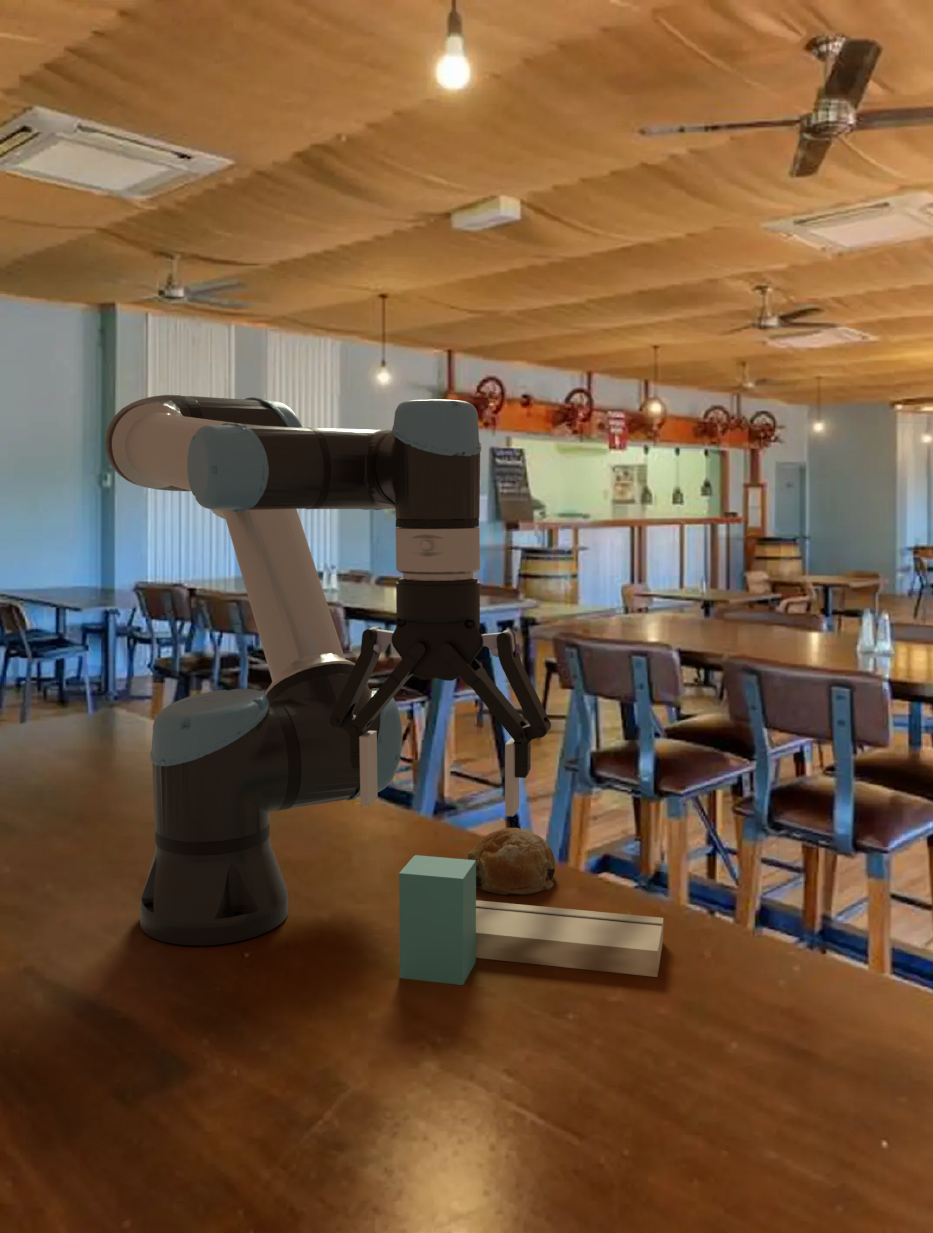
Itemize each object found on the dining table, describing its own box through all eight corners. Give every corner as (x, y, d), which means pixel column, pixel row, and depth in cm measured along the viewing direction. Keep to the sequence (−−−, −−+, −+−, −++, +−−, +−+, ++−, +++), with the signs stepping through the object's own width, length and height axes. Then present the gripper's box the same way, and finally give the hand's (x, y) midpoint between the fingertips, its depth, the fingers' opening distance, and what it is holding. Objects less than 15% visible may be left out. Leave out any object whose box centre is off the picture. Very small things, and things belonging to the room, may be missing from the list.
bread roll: (531, 931, 119) (563, 870, 117) (449, 886, 120) (479, 825, 119) (543, 898, 129) (572, 841, 127) (467, 857, 130) (495, 800, 128)
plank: (417, 951, 105) (417, 925, 105) (439, 919, 113) (439, 895, 112) (657, 976, 99) (657, 949, 99) (662, 941, 107) (663, 916, 107)
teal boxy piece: (399, 977, 99) (399, 873, 98) (437, 923, 112) (437, 829, 111) (463, 984, 98) (463, 878, 97) (493, 928, 110) (494, 834, 109)
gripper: (291, 577, 96) (296, 809, 98) (570, 581, 90) (568, 828, 92) (322, 571, 103) (326, 788, 106) (582, 574, 97) (580, 804, 100)
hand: (439, 807), depth 99 cm, fingers open, 13 cm apart
